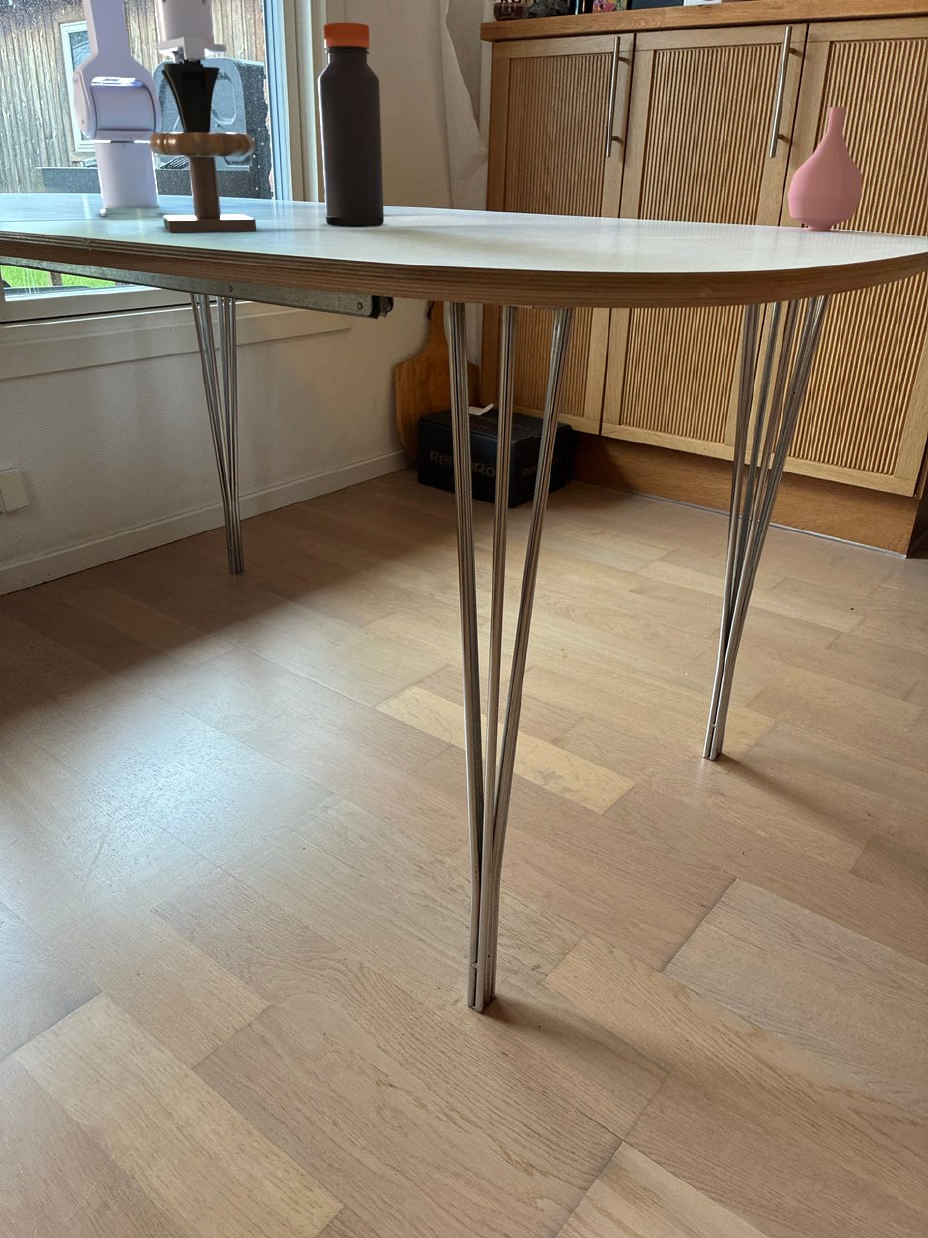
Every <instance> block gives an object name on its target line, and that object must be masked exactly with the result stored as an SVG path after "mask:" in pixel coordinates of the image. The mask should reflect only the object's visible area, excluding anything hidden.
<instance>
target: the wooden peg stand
mask: <svg viewBox="0 0 928 1238" xmlns="http://www.w3.org/2000/svg"><path fill="white" fill-rule="evenodd" d="M187 158H188V169H189V177H190V187H191V194H192V202H193V212H194V215H163V216H162V217H163V226H164V228H165V229H166V230H167V231H168V233H171V234H182V233H184V234H185V233H186V234H187V233H188V234H189V233H223V232H224V233H227V232H229V233H230V232H231V233H232V232H234V233H235V232H257V224H256V223H257V222H256V219H255V218H253V217H250V216H248V215H245V214H222V211H221V202H220V193H219V191H220V190H219V183H218V174H217V164H216V156H187Z"/></svg>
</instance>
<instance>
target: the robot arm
mask: <svg viewBox="0 0 928 1238" xmlns="http://www.w3.org/2000/svg"><path fill="white" fill-rule="evenodd" d="M81 2H82V6H83V13H84V19H85V25H86V32H87V37H88V43H89V49H90V50H89V51H90V55H89V56H88V57H86V58H85V59H84V60H83V61H82V62H81V63H80V64H79V65H77V67H76V68H75V69H74V71H73V74H72V77H71V79H72V81H71V82H72V88H73V111H74V115H75V119H76V124H77V126H78V129H79V130H80V132H81V133H82V134H83V135H84V136H85V138H87V139H88V140H89V142H93V146H94V147H93V148H94V154H95V161H96V165H97V166H96V167H97V173H98V174H97V175H98V178H99V186H100V193H101V199H102V200H101V201H102V204H103V205H102V206H103V209H100V212H101V213H100V214H101V216H102V217H107V216H108V212H107V209H152V208H153V209H154V208H160V201H159V193H158V185H157V179H156V178H157V177H156V170H155V162H154V155H153V151H152V150H151V148H150V146H149V139H150V137H151V135H152V134H154V133H157V132H162V131H161V130H162V126H163V115H162V106H161V103H160V99H159V96H158V94H157V91H156V86H155V80H154V78H153V74H152V73H151V72H150V71H149V70H148V69H147V68H146V67H144V65H142V64H141V63H140V62H139V61H137V60H136V59H135V57H133V56H132V55H131V49H130V43H129V42H130V41H129V35H128V29H127V23H126V16H125V9H124V3H123V0H82V1H81ZM153 3H154V10H155V21H156V28H157V37H158V42H157V43H156V44H157V51H158V53H160V54H163V55H166V56H170V57H172V59H173V62H165V63H164V64H163V65H162V66H163V69H162V70H161V71H160V72H161V75H162V76H163V79H164V80H165V82H166V84H167V86H168V87H169V90H170V92H171V94H172V97H173V100H174V102H175V106H176V109H177V112H178V116H179V120H180V124H181V127H182V130H183V131H182V132H195V133H211V123H212V122H211V121H212V120H211V119H212V103H213V96H214V91H215V86H216V83H217V79H218V77H219V74H220V68H219V67H215V66H204V64H203V63H202V61H205V60H206V57H207V56H213V55H217V54H226V53H227V45H226V44H224V43H223V44H222V43H215V36H214V35H215V34H214V24H213V16H212V15H213V13H212V4H211V0H153ZM93 82H95V83H93ZM99 83H100V84H99ZM103 83H105V84H103ZM106 83H114V84H106ZM115 83H118V84H115ZM119 83H120V84H119Z"/></svg>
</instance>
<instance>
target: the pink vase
mask: <svg viewBox="0 0 928 1238" xmlns="http://www.w3.org/2000/svg"><path fill="white" fill-rule="evenodd" d="M845 114H846V106H830V108H829V114H828V121H827V128H826V133H825V134H824V136H823V137H822V139H821V140H820V142H819V144H818V145H817V147H816V148H815V150H814V152H813V154H812V155H811V156H810V157H809V158H807V160H806V161H805V162H804V163H803V164H801V166H800V167H799V168H798V169H796V171H795V172H794V173H793V176H792V179H791V183H790V186H789V189H788V193H787V201H788V203H787V204H788V210H789V217H790V218H792V219H794V220H795V221H798V222H799V223H801V224H803V225H805V226H807V227H808V228H807V230H808V231H815V232H817V231H819V232H821V231H822V232H825V231H826V232H827V231H831V227H834V226H836V225H838V224H841V223H844V222H846V221H848V220H851V219H853V217H854V215H855V213H856V210H857V208H858V206H859V204H860V202H861V199H862V197H863V173H862V172H861V170H860V168H859V167H858V166H857V164H856V163H855V161H854V160H853V158H852V156H850V154H849V151H848V148H847V144H846V141H845V137H844V134H843V127H844V121H845V116H846V115H845Z"/></svg>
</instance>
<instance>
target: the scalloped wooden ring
mask: <svg viewBox="0 0 928 1238" xmlns="http://www.w3.org/2000/svg"><path fill="white" fill-rule="evenodd" d="M148 143H149V146H150V148H151V150H152V153H154V154H155V155H157V156H160V157H248V156H251V155H252V154H253V153H254V151H255V148H256V145H255V140H254V139H253V137H252V136H251V135H250V134H248V133H245V132H210V133H195V132H184V131H182V132H179V131H178V132H177V131H174V132H171V131H169V132H168V131H167V132H166V131H163V132H162V131H160V132H157V133H154V134H152V135H151V137H150V139H149V142H148Z"/></svg>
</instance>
